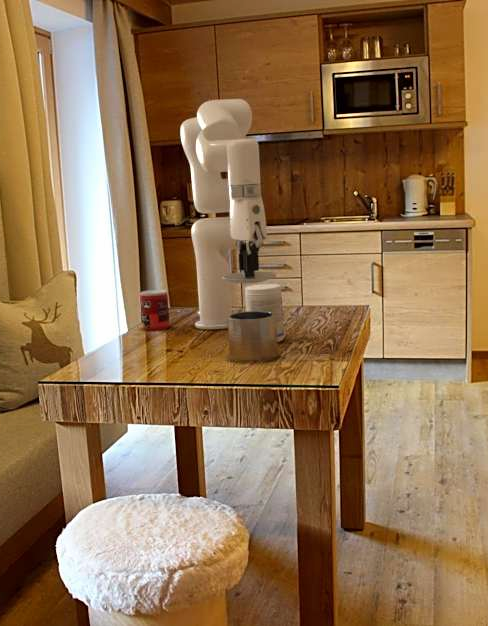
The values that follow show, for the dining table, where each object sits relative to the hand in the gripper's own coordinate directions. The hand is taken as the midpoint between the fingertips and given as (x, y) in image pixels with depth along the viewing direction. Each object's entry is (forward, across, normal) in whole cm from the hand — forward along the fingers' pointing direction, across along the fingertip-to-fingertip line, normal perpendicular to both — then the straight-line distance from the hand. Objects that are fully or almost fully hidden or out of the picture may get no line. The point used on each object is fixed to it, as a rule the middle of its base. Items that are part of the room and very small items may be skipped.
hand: (249, 269), depth 197 cm
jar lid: (+2, 0, 0) cm, 2 cm away
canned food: (+22, +52, +3) cm, 57 cm away
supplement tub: (+22, +14, -12) cm, 29 cm away
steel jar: (+22, 0, 0) cm, 22 cm away
